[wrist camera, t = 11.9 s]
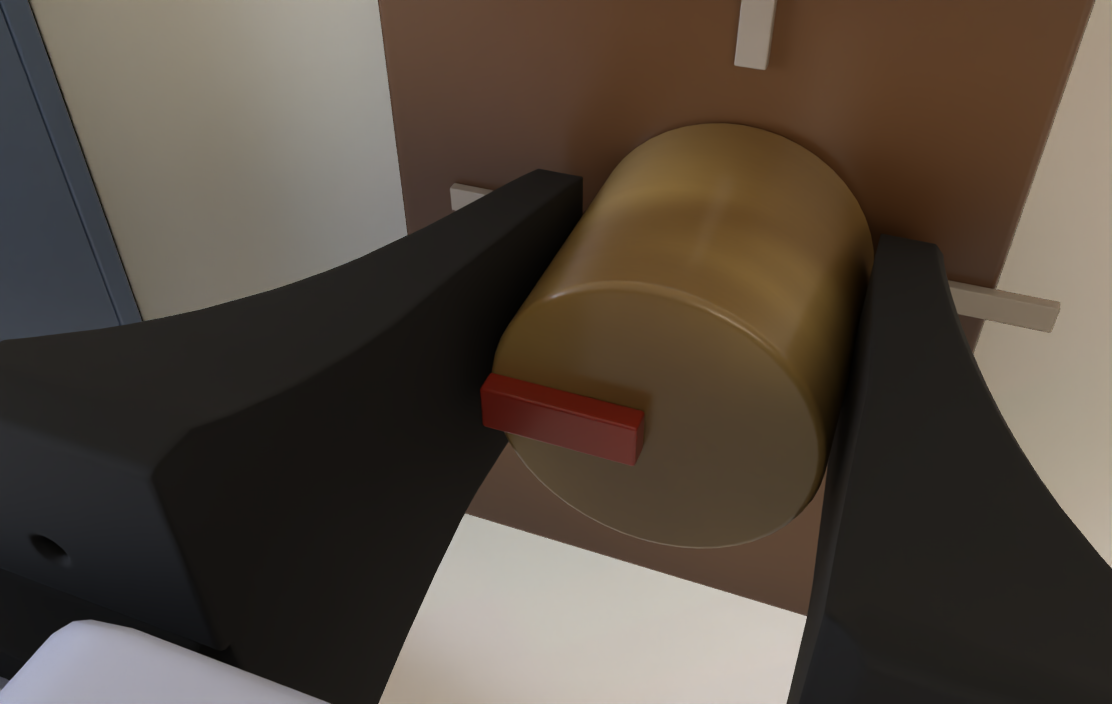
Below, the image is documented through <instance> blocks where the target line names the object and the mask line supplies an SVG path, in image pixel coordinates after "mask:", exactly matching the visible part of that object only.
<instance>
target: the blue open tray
mask: <svg viewBox="0 0 1112 704" xmlns="http://www.w3.org/2000/svg"><path fill="white" fill-rule="evenodd" d="M137 322H142V319H141V316H140V313H139V310H138V308H137V305H136V302H135V299H134V296H133V293H132V291H131V288H130V285H129V282H128V279H127V277H126V274H125V271H124V268H123V265H122V263H121V260H120V257H119V254H118V251H117V249H116V246H115V243H114V240H113V237H112V235H111V232H110V229H109V226H108V223H107V221H106V218H105V215H104V212H103V209H102V207H101V204H100V201H99V198H98V195H97V192H96V190H95V187H94V184H93V181H92V178H91V176H90V173H89V170H88V167H87V164H86V162H85V159H84V156H83V153H82V150H81V148H80V145H79V142H78V139H77V136H76V134H75V131H74V128H73V125H72V122H71V120H70V117H69V114H68V111H67V108H66V106H65V103H64V100H63V97H62V94H61V92H60V89H59V86H58V83H57V80H56V77H55V75H54V72H53V69H52V66H51V63H50V61H49V58H48V55H47V52H46V49H45V47H44V44H43V41H42V38H41V35H40V33H39V30H38V27H37V24H36V21H35V19H34V16H33V13H32V10H31V7H30V5H29V2H28V0H0V342H1V341H3V340H7V339H19V338H28V337H37V336H45V335H53V334H62V333H70V332H78V331H86V330H95V329H102V328H108V327H114V326H121V325H126V324H132V323H137Z"/></svg>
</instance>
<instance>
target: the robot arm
mask: <svg viewBox="0 0 1112 704" xmlns="http://www.w3.org/2000/svg"><path fill="white" fill-rule="evenodd" d="M582 216H583V177H581V176H575V175H570V174H565V173H560V172H554V171H549V170H544V169H536V170H534V171H532V172H529V173H527V174H525V175H523V176H521V177H519V178H517V179H515V180H513V181H511V182H509V183H507V184H505V185H503V186H501V187H500V188H498V189H496V190H494V191H492V192H490V193H488V194H487V195H485V196H483V197H481V198H479V199H477V200H475V201H474V202H472V203H470V204H468V205H466V206H464V207H462V208H460V209H458V210H457V211H455V212H453V213H451V214H449V215H447V216H445V217H443V218H441V219H439V220H438V221H436V222H434V223H432V224H430V225H428V226H426V227H424V228H422V229H420V230H418V231H416V232H414V233H412V234H409V235H407V236H405V237H403V238H401V239H399V240H397V241H394V242H392V243H390V244H388V245H386V246H384V247H382V248H379V249H377V250H375V251H373V252H371V253H369V254H367V255H365V256H362V257H360V258H358V259H355V260H353V261H351V262H348V263H346V264H343V265H341V266H338V267H336V268H333V269H331V270H328V271H326V272H323V273H320V274H317V275H314V276H312V277H309V278H306V279H303V280H300V281H298V282H295V283H292V284H289V285H286V286H283V287H280V288H277V289H274V290H270V291H266V292H263V293H259V294H256V295H252V296H248V297H245V298H241V299H238V300H234V301H230V302H227V303H223V304H220V305H216V306H213V307H209V308H205V309H201V310H197V311H192V312H187V313H183V314H178V315H173V316H169V317H164V318H159V319H154V320H148V321H143V322H137V323H132V324H126V325H121V326H114V327H108V328H102V329H95V330H86V331H78V332H70V333H62V334H53V335H45V336H37V337H28V338H19V339H7V340H3V341H1V342H0V704H378V703H379V701H380V698H381V696H382V694H383V691H384V689H385V687H386V684H387V682H388V679H389V677H390V675H391V672H392V670H393V668H394V665H395V663H396V661H397V658H398V656H399V653H400V651H401V649H402V646H403V644H404V642H405V639H406V637H407V635H408V633H409V630H410V628H411V626H412V624H413V622H414V619H415V617H416V615H417V613H418V611H419V608H420V606H421V604H422V602H423V600H424V597H425V595H426V593H427V591H428V589H429V586H430V584H431V582H432V580H433V577H434V575H435V573H436V571H437V569H438V567H439V565H440V563H441V561H442V559H443V557H444V555H445V553H446V550H447V548H448V546H449V544H450V542H451V540H452V538H453V536H454V534H455V532H456V530H457V528H458V526H459V523H460V521H461V519H462V517H463V515H464V514H465V512H466V510H467V508H468V507H469V505H470V503H471V501H472V500H473V498H474V496H475V494H476V493H477V491H478V489H479V487H480V486H481V484H482V483H483V481H484V480H485V478H486V476H487V475H488V473H489V472H490V470H491V469H492V467H493V465H494V464H495V462H496V461H497V459H498V458H499V456H500V454H501V453H502V451H503V450H504V448H505V446H506V445H507V443H508V442H509V441H508V439H507V437H506V435H505V433H504V431H500V430H496V429H493V428H489V427H485V426H484V425H483V423H482V410H481V398H480V388H481V386H482V385H483V383H484V382H485V380H486V379H487V377H488V376H489V374H490V373H492V366H493V360H494V355H495V351H496V348H497V346H498V343H499V340H500V338H501V336H502V335H503V333H504V331H505V330H506V328H507V326H508V325H509V323H510V322H511V320H512V319H513V317H514V316H515V314H516V313H517V311H518V310H519V308H520V307H521V306H522V304H523V303H524V301H525V300H526V298H527V297H528V295H529V294H530V292H531V291H532V289H533V288H534V286H535V285H536V283H537V282H538V280H539V279H540V277H541V276H542V275H543V273H544V272H545V270H546V269H547V267H548V266H549V264H550V263H551V261H552V260H553V258H554V257H555V255H556V254H557V252H558V251H559V249H560V248H561V247H562V245H563V244H564V242H565V241H566V239H567V238H568V236H569V235H570V233H571V232H572V230H573V229H574V227H575V226H576V224H577V223H578V221H579V220H580V219H581V217H582ZM787 704H1112V568H1111V567H1110V566H1109V565H1108V564H1107V563H1106V562H1105V560H1104V559H1103V558H1102V557H1101V556H1100V555H1099V554H1098V552H1097V551H1096V550H1095V549H1094V547H1093V546H1092V545H1091V544H1090V543H1089V541H1088V540H1087V539H1086V538H1085V536H1084V535H1083V534H1082V533H1081V531H1080V530H1079V529H1078V528H1077V527H1076V525H1075V524H1074V523H1073V522H1072V520H1071V519H1070V518H1069V517H1068V516H1067V514H1066V513H1065V512H1064V511H1063V509H1062V508H1061V507H1060V506H1059V504H1058V503H1057V501H1056V500H1055V499H1054V497H1053V496H1052V494H1051V493H1050V492H1049V490H1048V489H1047V487H1046V486H1045V484H1044V483H1043V482H1042V480H1041V479H1040V477H1039V476H1038V474H1037V473H1036V471H1035V470H1034V468H1033V466H1032V465H1031V463H1030V462H1029V460H1028V459H1027V457H1026V456H1025V454H1024V452H1023V451H1022V449H1021V448H1020V446H1019V444H1018V443H1017V441H1016V439H1015V438H1014V436H1013V434H1012V432H1011V431H1010V429H1009V427H1008V425H1007V423H1006V422H1005V420H1004V418H1003V416H1002V414H1001V412H1000V410H999V408H998V406H997V404H996V402H995V401H994V399H993V397H992V395H991V393H990V391H989V389H988V387H987V385H986V382H985V380H984V378H983V376H982V374H981V371H980V369H979V367H978V365H977V362H976V360H975V357H974V355H973V353H972V350H971V348H970V345H969V343H968V340H967V338H966V335H965V333H964V330H963V328H962V325H961V322H960V319H959V316H958V313H957V310H956V307H955V304H954V301H953V297H952V294H951V290H950V287H949V283H948V279H947V275H946V270H945V264H944V256H943V253H942V252H941V251H940V249H939V248H938V246H937V245H936V244H934V243H928V242H923V241H918V240H912V239H907V238H902V237H897V236H891V235H886V234H881V235H880V239H879V243H878V247H877V251H876V255H875V259H874V263H873V267H872V271H871V275H870V279H869V283H868V287H867V292H866V296H865V300H864V304H863V308H862V312H861V316H860V320H859V325H858V329H857V333H856V338H855V344H854V351H853V356H852V362H851V367H850V372H849V377H848V381H847V386H846V390H845V394H844V398H843V402H842V406H841V410H840V414H839V419H838V423H837V427H836V431H835V435H834V439H833V443H832V447H831V452H830V456H829V460H828V467H827V474H826V482H825V490H824V498H823V505H822V513H821V521H820V529H819V537H818V545H817V553H816V560H815V568H814V576H813V584H812V591H811V596H810V602H809V608H808V613H807V619H806V624H805V628H804V632H803V637H802V641H801V645H800V649H799V654H798V658H797V662H796V666H795V671H794V675H793V679H792V683H791V688H790V692H789V696H788V700H787Z"/></svg>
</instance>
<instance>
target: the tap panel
mask: <svg viewBox="0 0 1112 704" xmlns="http://www.w3.org/2000/svg"><path fill="white" fill-rule="evenodd" d="M1094 3H1095V0H378V4H379V12H380V20H381V28H382V36H383V43H384V51H385V59H386V67H387V75H388V83H389V91H390V99H391V107H392V115H393V123H394V131H395V138H396V146H397V154H398V162H399V170H400V178H401V186H402V194H403V202H404V210H405V218H406V225H407V233H408V235H409V234H412V233H414V232H416V231H418V230H420V229H422V228H424V227H426V226H428V225H430V224H432V223H434V222H436V221H438V220H439V219H441V218H443V217H445V216H447V215H449V214H451V213H453V212H455V211H457V210H458V209H460V208H462V207H464V206H466V205H468V204H470V203H472V202H474V201H475V200H477V199H479V198H481V197H483V196H485V195H487V194H488V193H490V192H492V191H494V190H496V189H498V188H500V187H501V186H503V185H505V184H507V183H509V182H511V181H513V180H515V179H517V178H519V177H521V176H523V175H525V174H527V173H529V172H532V171H534V170H536V169H544V170H549V171H554V172H560V173H565V174H570V175H575V176H581V177H583V214H584V213H585V211H586V210H587V208H588V207H589V205H590V204H591V202H592V201H593V199H594V198H595V196H596V195H597V193H598V192H599V190H600V189H601V188H602V186H603V185H604V183H605V182H606V180H607V179H608V177H609V176H610V174H611V173H612V171H613V170H614V169H615V168H616V167H617V165H618V164H619V163H620V162H621V161H622V160H623V158H625V157H626V156H627V155H628V154H629V153H631V152H632V151H633V150H634V149H635V148H637V147H638V146H640V145H641V144H643V143H645V142H646V141H648V140H649V139H651V138H653V137H656V136H658V135H660V134H663V133H665V132H667V131H671V130H674V129H678V128H681V127H685V126H692V125H698V124H707V123H728V124H738V125H745V126H750V127H754V128H759V129H763V130H766V131H769V132H772V133H775V134H777V135H780V136H783V137H785V138H787V139H789V140H791V141H793V142H795V143H797V144H799V145H801V146H802V147H804V148H805V149H807V150H808V151H810V152H811V153H813V154H814V155H816V156H817V157H819V158H820V159H821V160H822V161H823V162H825V163H826V164H827V165H828V166H829V167H830V168H832V169H833V170H834V172H835V173H836V174H837V175H838V176H839V177H840V178H841V179H842V180H843V182H844V183H845V184H846V185H847V187H848V188H849V190H850V191H851V192H852V194H853V195H854V197H855V198H856V200H857V201H858V203H859V205H860V207H861V209H862V211H863V213H864V215H865V218H866V221H867V224H868V227H869V230H870V233H871V238H872V244H873V250H874V259H875V255H876V251H877V247H878V243H879V239H880V235H881V234H886V235H891V236H897V237H902V238H907V239H912V240H918V241H923V242H928V243H934V244H936V245H937V246H938V248H939V249H940V251H941V252H942V253H943V256H944V264H945V270H946V275H947V279H948V283H949V287H950V290H951V294H952V297H953V301H954V304H955V307H956V310H957V313H958V316H959V319H960V322H961V325H962V328H963V330H964V333H965V335H966V338H967V340H968V343H969V345H970V348H971V350H972V353H973V354H974V351H975V348H976V345H977V342H978V339H979V336H980V333H981V330H982V327H983V325H984V322H985V320H990V321H995V322H1000V323H1005V324H1009V325H1014V326H1019V327H1024V328H1029V329H1034V330H1039V331H1043V332H1048V333H1050V332H1051V331H1052V329H1053V326H1054V324H1055V321H1056V319H1057V316H1058V314H1059V312H1060V302H1057V301H1052V300H1047V299H1041V298H1036V297H1031V296H1026V295H1021V294H1016V293H1011V292H1006V291H1001V290H996V287H997V284H998V281H999V278H1000V275H1001V272H1002V270H1003V267H1004V264H1005V261H1006V258H1007V255H1008V252H1009V249H1010V246H1011V243H1012V241H1013V238H1014V235H1015V232H1016V229H1017V226H1018V223H1019V220H1020V217H1021V214H1022V212H1023V209H1024V206H1025V203H1026V200H1027V197H1028V194H1029V191H1030V188H1031V186H1032V183H1033V180H1034V177H1035V174H1036V171H1037V168H1038V165H1039V162H1040V159H1041V157H1042V154H1043V151H1044V148H1045V145H1046V142H1047V139H1048V136H1049V133H1050V130H1051V128H1052V125H1053V122H1054V119H1055V116H1056V113H1057V110H1058V107H1059V104H1060V102H1061V99H1062V96H1063V93H1064V90H1065V87H1066V84H1067V81H1068V78H1069V75H1070V73H1071V70H1072V67H1073V64H1074V61H1075V58H1076V55H1077V52H1078V49H1079V46H1080V44H1081V41H1082V38H1083V35H1084V32H1085V29H1086V26H1087V23H1088V20H1089V18H1090V15H1091V12H1092V9H1093V6H1094ZM827 467H828V464H827ZM826 474H827V468H826V472H825V474H824V477H823V480H822V483H821V486H820V488H819V489H818V491H817V493H816V494H815V496H814V498H813V500H812V501H811V502H810V503H809V504H808V506H807V507H806V508H805V509H804V510H803V511H802V512H801V513H800V514H799V515H798V516H797V517H796V518H795V519H793V520H792V521H791V522H790V523H788V524H787V525H786V526H785V527H783V528H781V529H779V530H778V531H776V532H774V533H772V534H771V535H768V536H766V537H763V538H761V539H758V540H756V541H753V542H749V543H745V544H741V545H737V546H730V547H723V548H704V549H697V548H682V547H675V546H668V545H662V544H657V543H653V542H649V541H645V540H641V539H638V538H635V537H632V536H629V535H626V534H623V533H621V532H618V531H616V530H614V529H611V528H609V527H607V526H604V525H602V524H600V523H599V522H597V521H595V520H593V519H591V518H589V517H587V516H585V515H584V514H582V513H581V512H579V511H577V510H576V509H574V508H573V507H571V506H570V505H568V504H567V503H566V502H564V501H563V500H562V499H560V498H559V497H558V496H556V495H555V494H554V493H553V492H551V491H550V490H549V489H548V488H547V487H546V486H545V485H544V484H543V483H542V482H540V481H539V480H538V479H537V478H536V476H535V475H534V474H533V473H532V472H531V471H530V470H529V469H528V468H527V467H526V465H525V464H524V463H523V461H522V460H521V459H520V457H519V456H518V455H517V453H516V452H515V451H514V449H513V447H512V446H511V444H510V442H508V443H507V445H506V446H505V448H504V450H503V451H502V453H501V454H500V456H499V458H498V459H497V461H496V462H495V464H494V465H493V467H492V469H491V470H490V472H489V473H488V475H487V476H486V478H485V480H484V481H483V483H482V484H481V486H480V487H479V489H478V491H477V493H476V494H475V496H474V498H473V500H472V501H471V503H470V505H469V507H468V508H467V510H466V512H465V513H466V514H469V515H472V516H476V517H479V518H482V519H486V520H489V521H492V522H495V523H499V524H502V525H505V526H509V527H512V528H515V529H519V530H522V531H525V532H529V533H532V534H535V535H539V536H542V537H545V538H549V539H552V540H555V541H559V542H562V543H565V544H569V545H572V546H575V547H579V548H582V549H585V550H589V551H592V552H595V553H599V554H602V555H605V556H609V557H612V558H615V559H619V560H622V561H625V562H628V563H632V564H635V565H638V566H642V567H645V568H648V569H652V570H655V571H658V572H662V573H665V574H668V575H672V576H675V577H678V578H682V579H685V580H688V581H692V582H695V583H698V584H702V585H705V586H708V587H712V588H715V589H718V590H722V591H725V592H728V593H732V594H735V595H738V596H742V597H745V598H748V599H752V600H755V601H758V602H761V603H765V604H768V605H771V606H775V607H778V608H781V609H785V610H788V611H791V612H795V613H798V614H801V615H805V616H807V613H808V608H809V602H810V596H811V591H812V584H813V576H814V568H815V560H816V553H817V545H818V537H819V529H820V521H821V513H822V505H823V498H824V490H825V482H826Z"/></svg>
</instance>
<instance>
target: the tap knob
mask: <svg viewBox="0 0 1112 704" xmlns="http://www.w3.org/2000/svg"><path fill="white" fill-rule="evenodd" d="M873 263H874V250H873V244H872V238H871V233H870V230H869V227H868V224H867V221H866V218H865V215H864V213H863V211H862V209H861V207H860V205H859V203H858V201H857V200H856V198H855V197H854V195H853V194H852V192H851V191H850V190H849V188H848V187H847V185H846V184H845V183H844V182H843V180H842V179H841V178H840V177H839V176H838V175H837V174H836V173H835V172H834V170H833V169H832V168H830V167H829V166H828V165H827V164H826V163H825V162H823V161H822V160H821V159H820V158H819V157H817V156H816V155H814V154H813V153H811V152H810V151H808V150H807V149H805V148H804V147H802V146H801V145H799V144H797V143H795V142H793V141H791V140H789V139H787V138H785V137H783V136H780V135H777V134H775V133H772V132H769V131H766V130H763V129H759V128H754V127H750V126H745V125H738V124H728V123H707V124H698V125H692V126H685V127H681V128H678V129H674V130H671V131H667V132H665V133H663V134H660V135H658V136H656V137H653V138H651V139H649V140H648V141H646V142H645V143H643V144H641V145H640V146H638V147H637V148H635V149H634V150H633V151H632V152H631V153H629V154H628V155H627V156H626V157H625V158H623V160H622V161H621V162H620V163H619V164H618V165H617V167H616V168H615V169H614V170H613V171H612V173H611V174H610V176H609V177H608V179H607V180H606V182H605V183H604V185H603V186H602V188H601V189H600V190H599V192H598V193H597V195H596V196H595V198H594V199H593V201H592V202H591V204H590V205H589V207H588V208H587V210H586V211H585V213H584V214H583V216H582V217H581V219H580V220H579V221H578V223H577V224H576V226H575V227H574V229H573V230H572V232H571V233H570V235H569V236H568V238H567V239H566V241H565V242H564V244H563V245H562V247H561V248H560V249H559V251H558V252H557V254H556V255H555V257H554V258H553V260H552V261H551V263H550V264H549V266H548V267H547V269H546V270H545V272H544V273H543V275H542V276H541V277H540V279H539V280H538V282H537V283H536V285H535V286H534V288H533V289H532V291H531V292H530V294H529V295H528V297H527V298H526V300H525V301H524V303H523V304H522V306H521V307H520V308H519V310H518V311H517V313H516V314H515V316H514V317H513V319H512V320H511V322H510V323H509V325H508V326H507V328H506V330H505V331H504V333H503V335H502V336H501V338H500V340H499V343H498V346H497V348H496V351H495V355H494V360H493V366H492V373H490V374H489V376H488V377H487V379H486V380H485V382H484V383H483V385H482V386H481V388H480V398H481V410H482V423H483V425H484V426H485V427H489V428H493V429H496V430H500V431H504V433H505V435H506V437H507V439H508V441H509V442H510V444H511V446H512V447H513V449H514V451H515V452H516V453H517V455H518V456H519V457H520V459H521V460H522V461H523V463H524V464H525V465H526V467H527V468H528V469H529V470H530V471H531V472H532V473H533V474H534V475H535V476H536V478H537V479H538V480H539V481H540V482H542V483H543V484H544V485H545V486H546V487H547V488H548V489H549V490H550V491H551V492H553V493H554V494H555V495H556V496H558V497H559V498H560V499H562V500H563V501H564V502H566V503H567V504H568V505H570V506H571V507H573V508H574V509H576V510H577V511H579V512H581V513H582V514H584V515H585V516H587V517H589V518H591V519H593V520H595V521H597V522H599V523H600V524H602V525H604V526H607V527H609V528H611V529H614V530H616V531H618V532H621V533H623V534H626V535H629V536H632V537H635V538H638V539H641V540H645V541H649V542H653V543H657V544H662V545H668V546H675V547H682V548H697V549H704V548H723V547H730V546H737V545H741V544H745V543H749V542H753V541H756V540H758V539H761V538H763V537H766V536H768V535H771V534H772V533H774V532H776V531H778V530H779V529H781V528H783V527H785V526H786V525H787V524H788V523H790V522H791V521H792V520H793V519H795V518H796V517H797V516H798V515H799V514H800V513H801V512H802V511H803V510H804V509H805V508H806V507H807V506H808V504H809V503H810V502H811V501H812V500H813V498H814V496H815V494H816V493H817V491H818V489H819V488H820V486H821V483H822V480H823V477H824V474H825V472H826V468H827V464H828V460H829V456H830V452H831V447H832V443H833V439H834V435H835V431H836V427H837V423H838V419H839V414H840V410H841V406H842V402H843V398H844V394H845V390H846V386H847V381H848V377H849V372H850V367H851V362H852V356H853V351H854V344H855V338H856V333H857V329H858V325H859V320H860V316H861V312H862V308H863V304H864V300H865V296H866V292H867V287H868V283H869V279H870V275H871V271H872V267H873Z"/></svg>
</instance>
